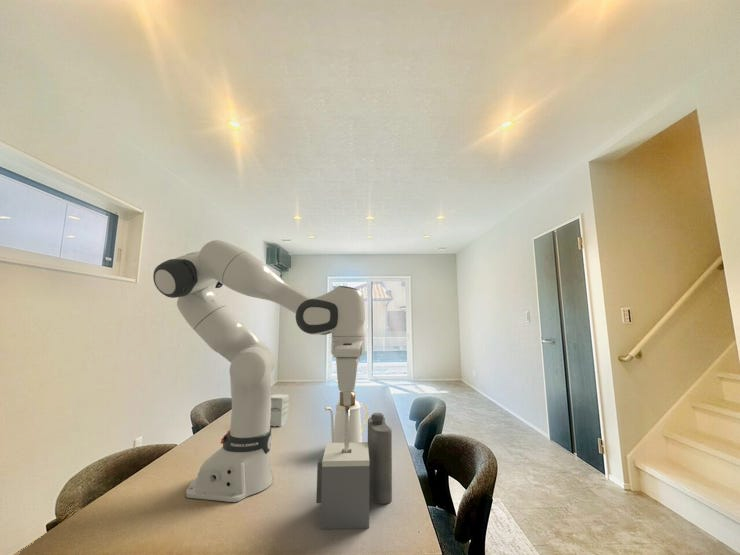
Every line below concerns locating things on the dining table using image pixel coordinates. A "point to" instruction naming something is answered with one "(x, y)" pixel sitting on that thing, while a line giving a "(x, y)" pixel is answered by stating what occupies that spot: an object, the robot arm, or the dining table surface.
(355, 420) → the coffeepot
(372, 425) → the flask
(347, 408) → the plunger
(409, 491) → the dining table surface
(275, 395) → the supplement box
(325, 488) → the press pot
